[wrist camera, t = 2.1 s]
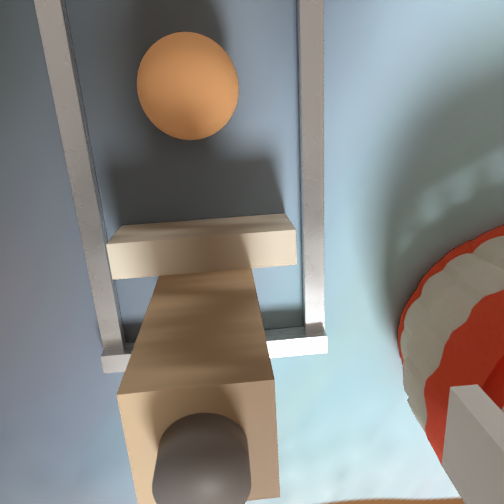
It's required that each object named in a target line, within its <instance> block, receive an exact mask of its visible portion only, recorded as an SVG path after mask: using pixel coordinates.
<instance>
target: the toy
mask: <svg viewBox="0 0 504 504" xmlns="http://www.w3.org/2000/svg"><path fill="white" fill-rule="evenodd" d="M398 343H399V353H400V357H401V359H402V365H403V384H404V389H405V392H406V393H407V395H408V396H409V398H408V400H407V401H408V403H409V406H410V408H411V409H412V411H413V413H414V415H415V417H416V419H417V420H418V422H419V423H420V425H421V427H422V428H423V430H424V431H425V433H426V435H427V438H428V440H429V442H430V444H431V446H432V447H433V449H434V451H435V453H436V455H437V456H438V459H439V461H440V463H441V465H442V457H443V448H444V439H445V430H446V421H447V411H448V402H449V393H450V387H454V386H465V385H476V384H477V385H478V386H479V387H480V388H481V389H482V390H483V391H484V392H485V393H486V394H487V395H488V396H489V397H490V399H491V400H492V401H493V402H494V403H495V404H496V405H497V406H498V407H499V408H500V409H501V410H502V412H503V413H504V225H502V226H499V227H497V228H495V229H493V230H490V231H488V232H486V233H484V234H482V235H480V236H478V237H477V238H476V239H474V240H473V241H468V242H465V243H463V244H462V245H460V246H458V247H456V248H454V249H453V250H451V251H450V252H448V253H447V254H446V255H445V256H444V257H443V259H441V260H440V261H438V262H437V263H436V264H435V265H434V266H433V267H432V268H431V269H430V270H429V271H428V272H427V273H426V275H425V276H424V277H423V278H422V279H421V281H420V282H419V284H418V288H417V289H416V291H415V292H414V293H413V294H412V296H411V298H410V299H409V301H408V302H407V304H406V306H405V308H404V310H403V312H402V314H401V317H400V325H399V327H398Z"/></svg>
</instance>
